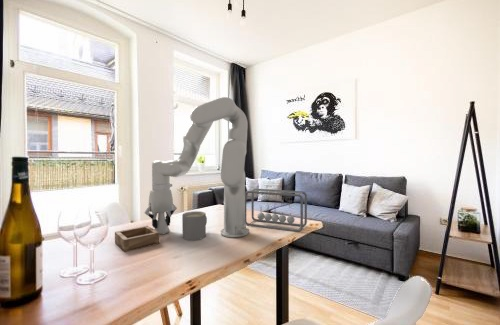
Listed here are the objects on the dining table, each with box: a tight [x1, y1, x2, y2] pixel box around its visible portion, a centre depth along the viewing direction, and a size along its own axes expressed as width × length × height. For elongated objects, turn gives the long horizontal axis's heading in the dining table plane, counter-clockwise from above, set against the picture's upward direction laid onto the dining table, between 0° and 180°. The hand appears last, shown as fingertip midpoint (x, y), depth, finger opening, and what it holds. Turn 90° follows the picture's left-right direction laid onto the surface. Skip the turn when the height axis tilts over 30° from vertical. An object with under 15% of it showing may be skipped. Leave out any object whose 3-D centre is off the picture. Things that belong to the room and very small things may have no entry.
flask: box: [153, 212, 170, 235], centre depth 112 cm, size 7×7×10 cm
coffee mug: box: [181, 210, 208, 241], centre depth 108 cm, size 13×10×10 cm
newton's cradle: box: [245, 188, 308, 233], centre depth 122 cm, size 30×10×18 cm, turn 66°
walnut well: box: [114, 225, 160, 253], centre depth 98 cm, size 13×13×4 cm
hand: (161, 225), depth 112 cm, fingers closed on flask, 5 cm apart
